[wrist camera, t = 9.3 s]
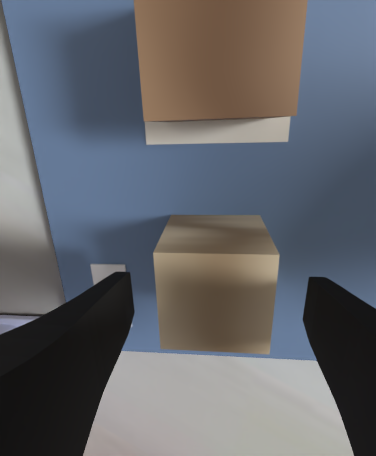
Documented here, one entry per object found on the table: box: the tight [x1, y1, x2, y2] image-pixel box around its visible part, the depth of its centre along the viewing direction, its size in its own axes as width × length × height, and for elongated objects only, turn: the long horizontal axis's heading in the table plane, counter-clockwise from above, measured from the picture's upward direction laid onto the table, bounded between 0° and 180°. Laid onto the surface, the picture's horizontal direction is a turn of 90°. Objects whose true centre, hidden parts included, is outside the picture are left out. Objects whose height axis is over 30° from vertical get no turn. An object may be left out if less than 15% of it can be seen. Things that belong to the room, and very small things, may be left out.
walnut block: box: [134, 0, 308, 122], centre depth 9 cm, size 4×4×4 cm
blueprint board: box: [1, 0, 376, 361], centre depth 14 cm, size 24×20×1 cm
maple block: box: [153, 215, 280, 354], centre depth 13 cm, size 4×4×4 cm
